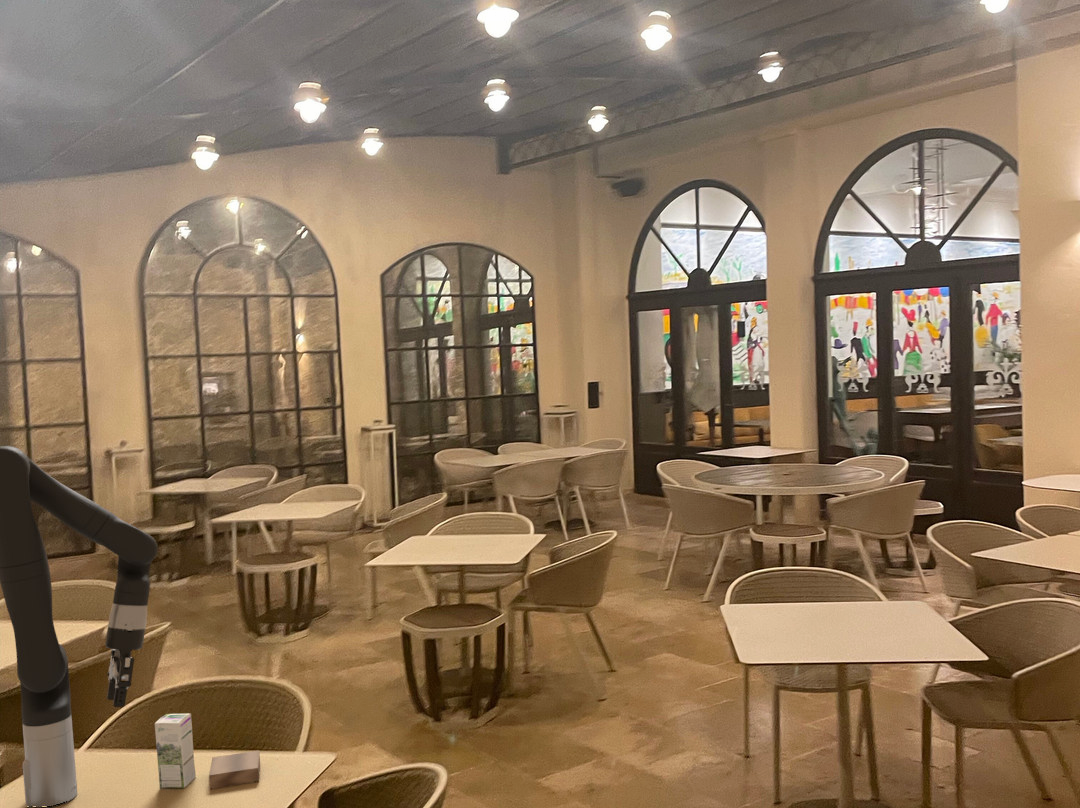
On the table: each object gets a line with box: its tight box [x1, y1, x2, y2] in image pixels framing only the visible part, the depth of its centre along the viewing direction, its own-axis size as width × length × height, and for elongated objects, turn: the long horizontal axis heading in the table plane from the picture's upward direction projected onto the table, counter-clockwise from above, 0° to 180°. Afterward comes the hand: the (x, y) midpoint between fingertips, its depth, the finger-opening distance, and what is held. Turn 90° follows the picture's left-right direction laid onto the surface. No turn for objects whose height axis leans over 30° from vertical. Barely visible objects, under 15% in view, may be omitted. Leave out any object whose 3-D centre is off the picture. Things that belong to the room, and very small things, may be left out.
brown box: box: [208, 749, 261, 790], centre depth 211 cm, size 10×10×3 cm
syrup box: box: [154, 713, 197, 789], centre depth 209 cm, size 6×6×14 cm
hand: (115, 703), depth 206 cm, fingers open, 8 cm apart
